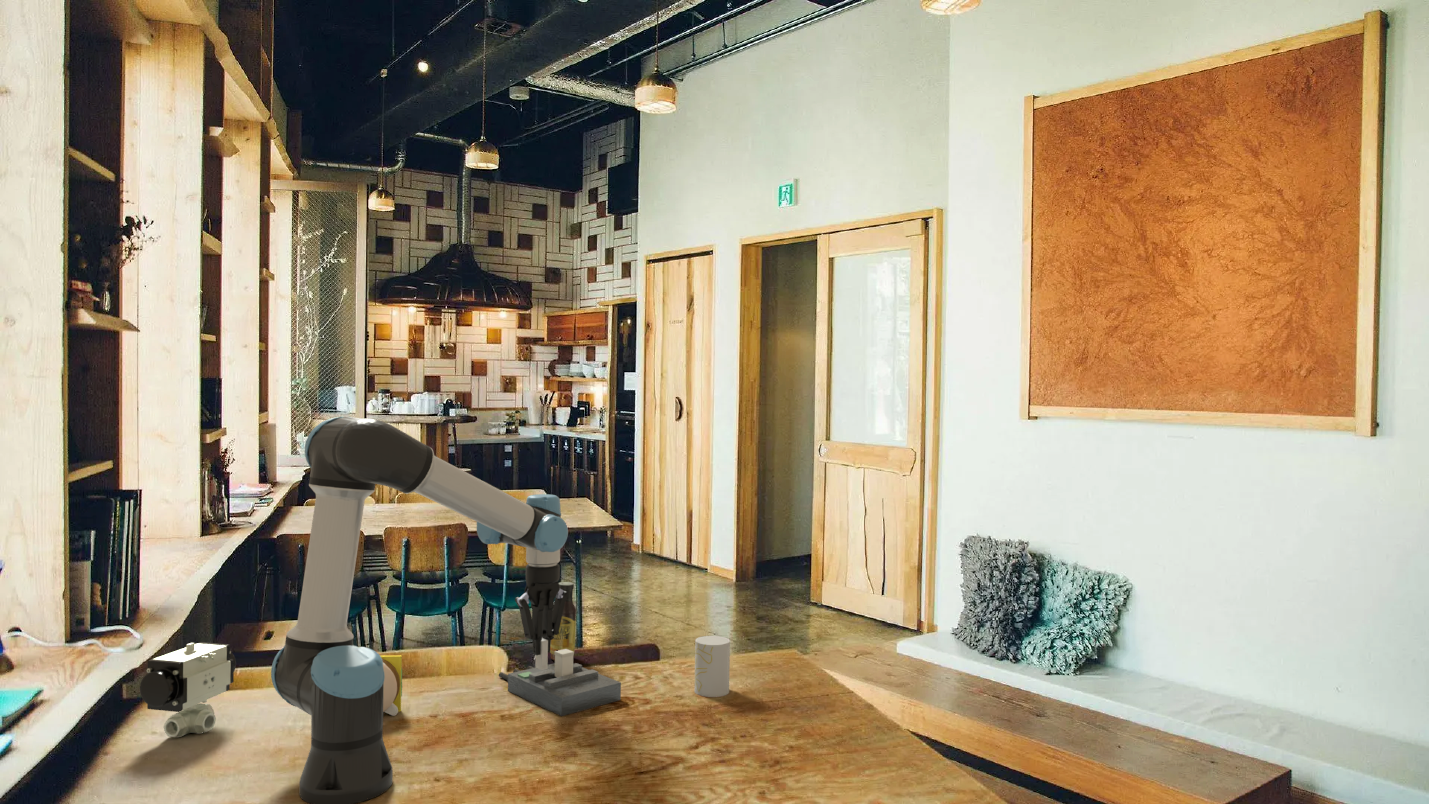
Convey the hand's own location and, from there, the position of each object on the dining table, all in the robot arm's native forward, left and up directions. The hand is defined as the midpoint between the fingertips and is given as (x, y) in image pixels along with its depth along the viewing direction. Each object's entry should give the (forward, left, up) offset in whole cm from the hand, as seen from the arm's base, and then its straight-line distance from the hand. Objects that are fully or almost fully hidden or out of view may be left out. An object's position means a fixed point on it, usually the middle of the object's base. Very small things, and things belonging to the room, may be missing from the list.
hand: (541, 668), depth 206 cm
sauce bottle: (+24, -22, -8) cm, 34 cm away
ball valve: (+30, +63, -8) cm, 70 cm away
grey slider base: (+5, -6, -8) cm, 11 cm away
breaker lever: (0, -6, -3) cm, 7 cm away
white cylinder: (-20, -34, -8) cm, 40 cm away
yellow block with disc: (+17, +32, -8) cm, 37 cm away
